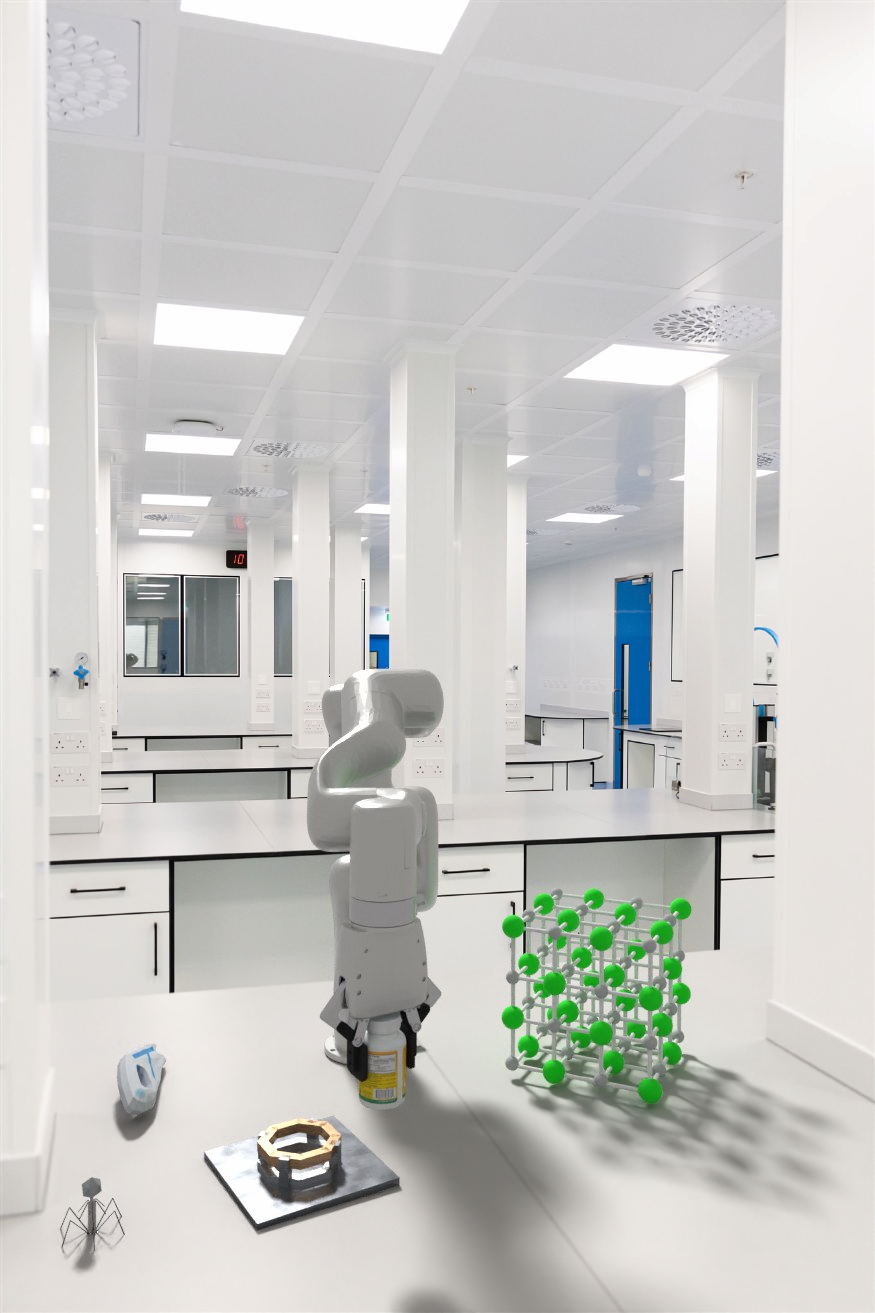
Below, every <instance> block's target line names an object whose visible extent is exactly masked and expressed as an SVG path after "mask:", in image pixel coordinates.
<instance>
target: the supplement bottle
mask: <svg viewBox="0 0 875 1313" xmlns="http://www.w3.org/2000/svg"><path fill="white" fill-rule="evenodd" d="M400 1026H401V1016H400V1014H399V1013H398V1012H395V1013H391V1014H387V1015H382V1016H378V1017H373V1018H370V1019H369V1022H368V1026H367V1029H366V1033H365V1037H364V1040H363V1043H364V1044H366V1045H367V1047H368V1078H367V1079H366V1081H363V1082H360V1081H359V1080H358V1100H359V1103H360V1104H361V1105H363V1106H364V1107H366V1108H367V1109H370V1110H374V1111H388V1110H392V1109H396V1108H397V1107H399V1106H401V1105H402V1104H403V1103H404V1101H405V1099H406V1094H407V1093H406V1092H407V1091H406V1087H407V1084H406V1083H407V1078H406V1077H407V1076H406V1075H407V1067H406V1037H405V1035H404V1033H403V1032H402V1031H400V1030H399V1029H400Z"/></svg>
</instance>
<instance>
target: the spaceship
mask: <svg viewBox="0 0 875 1313" xmlns="http://www.w3.org/2000/svg"><path fill="white" fill-rule="evenodd" d="M166 1062H167V1058H166V1056H165V1055H164V1054H162V1053H159V1052H158V1051H157V1044H156V1043H147V1044H144V1045H140V1046H137V1047H134V1048H132V1049H130V1050H129V1051H127V1052H126V1053H125V1054H124V1055H123V1056H122V1057H121V1058H120V1059H119V1062H118V1064H117V1069H116V1081H117V1082H116V1083H117V1089H118V1093H119V1097H120V1099H121V1100H120V1101H121V1103H122V1106H123V1109H124V1110H125V1112H126V1113H128V1114H129V1115H134V1116H137V1115H141V1114H143V1113H145V1112H147V1111H149V1110H151V1109H153V1108H154V1107H155V1103H156V1101H157V1092H158V1089H159V1087H160V1082H161V1077H162V1069H163V1067H164V1065H165V1063H166Z"/></svg>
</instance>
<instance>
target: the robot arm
mask: <svg viewBox="0 0 875 1313" xmlns="http://www.w3.org/2000/svg"><path fill="white" fill-rule="evenodd" d="M444 700H445V698H444V692H443V688H442V685H441V682H440V681H439V679H438V677H437V676H436V674H434V673H433V672H431V671H430V670H427V669H424V668H423V669H421V668H369V669H363V670H359V671H357V672H355V673H353V674H351V675H350V676H349V677H347V679H346V680H345V682H344V683H342V684H336V685H333V686H330V687H329V688H327V689H326V690H325V691H324V692H323V695H322V697H321V712H322V717H323V718H322V719H323V721H324V725H325V728H326V731H327V734H328V736H329V738H330V740H331V743H332V744H331V745H330V746H329V747H328V748H327V749H326V750H325V751H324V752H323V753H322V754H321V755H320V756H319V758H318V759H317V760H316V762H315V763H314V765H313V767H312V769H311V771H310V775H309V777H308V783H307V784H308V785H307V799H306V800H307V802H306V803H307V804H306V824H307V825H306V827H307V832H308V837H309V839H310V842H311V843H312V845H313V846H315V848H316V849H318V850H320V851H323V852H327V853H329V852H331V853H341V852H342V853H344V852H345V853H346V852H347V853H348V852H349V854H346V855H342V856H341V857H339V858H338V859H336V860H335V861H334V862H333V863H332V865H331V867H330V870H329V875H328V884H329V886H328V888H329V893H330V900H331V901H330V902H331V908H332V917H333V937H334V938H333V941H334V942H333V943H334V945H333V946H334V948H333V949H334V951H333V952H334V953H333V955H334V956H333V957H334V958H333V960H334V961H333V962H334V963H333V966H334V967H333V968H334V970H333V972H334V973H333V994H332V996H331V997H330V998H329V1000H328V1002H327V1003H326V1004H325V1006H324V1008H323V1009H322V1010H321V1012H320V1014H319V1019H320V1020H321V1021H323V1022H324V1023H325V1024H327V1026H329V1027H330V1028H332V1029H333V1034H332V1035H330V1036H329V1037H327V1039H325V1041H324V1044H323V1047H324V1049H323V1050H324V1054H325V1056H327V1057H328V1058H329V1059H330V1060H332V1061H334V1062H337V1063H340V1064H343V1065H346V1067H347V1071H349V1073H350V1074H351V1075H352V1076H353V1077H354V1078H356V1079H357V1080H358V1082H359V1081H360V1082H363V1081H366V1079H367V1078H368V1047H367V1045H366V1044H364V1043H363V1040H364V1037H365V1033H366V1029H367V1026H368V1022H369V1019H370V1018H373V1017H378V1016H382V1015H387V1014H391V1013H395V1012H398V1013H399V1014H400V1016H401V1026H400V1029H399V1030H400V1031H402V1032H403V1033H404V1035H405V1037H406V1069H409V1070H411V1069H415V1068H416V1057H417V1054H418V1048H417V1047H418V1032H420V1031H421V1030H422V1026H423V1025H422V1024H423V1022H424V1020H425V1019H426V1017H427V1016H428V1015H429V1013H430V1012H431V1008H433V1007H434V1005H435V1004H436V1003H437V1002H438V1000H439V999H440V998H441V996H442V991H441V989H439V987H438V986H437V985H436V984H435V983H434V981H432V979H431V978H430V977H429V975H428V973H429V972H428V958H427V948H426V942H425V936H424V929H423V926H422V921H421V919H420V918H419V917H418V913H424V912H427V911H430V910H431V909H432V908H434V906H435V905H436V902H437V899H438V894H439V813H438V804H437V801H436V797H435V796H434V793H433V792H432V791H431V790H430V789H428V788H426V787H424V786H419V785H393V782H392V778H393V777H392V774H393V773H392V770H393V769H394V768H395V767H397V766H398V764H399V763H400V762H401V761H402V759H403V758H404V756H405V754H406V750H407V739H421V738H422V739H423V738H427V737H429V736H430V735H431V734H432V733H433V732H434V731H435V730H436V729H437V728H438V727H439V725H440V723H441V721H442V718H443V713H444V707H445V704H444V702H445V701H444Z"/></svg>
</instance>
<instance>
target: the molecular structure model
mask: <svg viewBox="0 0 875 1313" xmlns="http://www.w3.org/2000/svg"><path fill="white" fill-rule="evenodd" d="M562 898H568V899H578V900H583V902H584V903H581V902H580V903H578V904H577V905H576V906H575V907H571V906H563V905H560V900H561V899H562ZM604 903H609V904H611V903H612V904H619V905H617V907H616V908H615V910H614V911H613V912H612V911H605V910H604V911H603V910H598V909H599V908H601V907H603V905H604ZM642 907H644V908H645V907H646V908H653V909H661V910H662V909H663V910H669V912H670V913H667V914H665V915H663V917H662V918H661V917H652V916H644V915H640V914H639V912H640V911H639V910H640V909H642ZM533 908H534V909H533V910H532V909H529V908H528V909H527V908H526V909H525V910H524V911H523V912H522V915H521V917H520V916H519V915H516V914H510V915H508V916H506V917H505V918H504V919H503V921H502V923H501V924H502V925H501V928H502V931H503V934H505V936H507V937H508V938H509V939H510V970H509V971H507V973H506V976H505V980H506V982H507V983H508V984H510V1005H509V1006H507V1007H505V1008H504V1009H503V1011H502V1012H501V1013H502V1014H501V1022H502V1024H503V1025H504V1027H506V1028H507V1029H509V1030H510V1056H508V1057H507V1058H506V1059H505V1062H504V1064H505V1067H506V1069H507V1070H508V1071H511V1072H512V1071H516V1070H517V1069H521V1070H526V1071H531V1072H536V1073H540V1074H542V1076H543V1078H544V1080H545V1081H546V1082H548V1083H549V1084H551V1085H557V1084H560V1083H562V1082H563V1081H564V1079H571V1080H575V1081H581V1082H586V1083H590V1084H594V1085H595V1087H597V1088H599V1089H604V1088H606V1087H612V1088H617V1089H619V1090H620V1089H621V1090H627V1091H630V1092H631V1091H632V1092H636V1093H638V1095H639V1098H640V1099H641V1100H642V1101H643V1102H644V1103H646V1104H651V1105H652V1104H656V1103H658V1102H659V1101H660V1100H661V1099H662V1096H663V1091H664V1090H663V1088H662V1085H661V1083H660V1082H659V1081H658V1079H660V1078H661V1079H662V1078H664V1077H665V1076H666V1075H667V1068H666V1067H667V1066H666V1064H667V1065H670V1066H672V1065H673V1066H675V1065H677V1064H678V1063H679V1062H680V1061H681V1059H682V1057H683V1051H682V1048H681V1046H680V1045H679V1044H681V1043H683V1042H684V1040H685V1034H684V1032H683V1031H682V1005H685V1004H687V1003H688V1002H689V1001H690V999H691V996H692V992H691V989H690V987H689V986H688V985H687V984H685V983H684V982H682V974H683V973H682V972H683V966H682V964H683V963H682V962H684V960H685V958H686V954H685V952H684V950H683V948H682V947H683V946H682V943H683V941H682V940H683V938H682V936H683V935H682V934H683V923H682V922H683V920H687V919H688V918H689V917H690V916H691V914H692V911H693V910H692V906H691V903H690V902H689V901H688V900H687V899H685V898H683V897H682V898H681V897H678V898H675V899H673V901H672V902H671V903H670V905H665V904H656V903H647V902H646V903H645V902H643V899H642V898H640V897H639V896H634V897H632V898H631V899H630V900H624V899H623V900H621V899H614V898H605V896H604V894H603V892H602V891H601V890H600V889H599V888H589V889H588V890H586V891H585V893H584V895H578V894H569V893H563V890H562V889H561V888H560V887H554V888H552V889H551V892H550V894H548V893H546V892H545V893H542V892H541V893H539V894H537V895H536V897H534V900H533ZM553 910H555V917H553V916H547V915H548V914H550V913H552V911H553ZM537 913H538V914H540V915H538V914H537ZM536 914H537V915H536ZM587 914H591V922H590V921H585V917H586V916H587ZM597 915H600V916H609V917H614V919H610V920H609V921H608V922H607V923H599V922H596V916H597ZM534 920H541V928H536V927H531V926H532V924H531V923H533V921H534ZM546 921H547V922H548V921H549V922H555V925H551V926H550V927H549V928H548V929H546ZM640 921H649V922H650V921H651V922H654V923H652V924H651V926H650V929H646V928H639V926H640V925H639V924H640V923H639V922H640ZM525 923H526V926H525ZM632 924H634V927H630V925H632ZM676 924H677V949H674V927H675V925H676ZM585 926H586V927H591V932H590V934H585ZM578 927H579V933H573V932H574V931H576V930H577V929H578ZM620 931H623V939H618V938H617V934H618V933H620ZM524 932H526V952H525V953H523V954H522V955H521V956H520V957H519V959H518V963H517V966H518V969H519V970H518V971H516V939H517V938H519V937H521V936H522V935H523V933H524ZM629 932H632V933H633V932H634V938H632V939H630V940H629V937H628V936H629ZM532 933H537V934H538V933H539V934H541V943H540V944H539V945H538V946H537V949H536V953H537V954H534V953H532V952H531V948H532V947H531V942H532V941H531V938H532V937H531V935H532ZM639 933H640V934H649V935H650V936H651V937H647V938H645V939H644V940H641V939H639ZM546 934H547V938H546ZM572 938H573V939H572ZM574 938H576V939H574ZM577 939H579V940H577ZM546 940H547V943H548V945H547V944H546ZM585 940H587V941H585ZM572 944H576V945H579V946H578V947H576V948H574V950H572ZM617 944H619V945H623V946H619V945H617ZM657 944H658V946H657ZM666 944H668V952H664V945H666ZM585 946H587V947H585ZM565 947H566V951H561V950H562V949H563V948H565ZM657 947H658V951H656V949H657ZM610 949H611V958H609V957H605V951H608V950H610ZM596 950H597V951H598V952H599V955H598V956H596ZM617 951H623V955H622V956H621V957H620V958H619V959H617ZM549 954H551V958H552V959H551V960H552V961H551V962H552V964H551V965H546V957H547V956H549ZM646 954H647V963H643V962H639V961H641V960H642V959H643V958H645V956H646ZM653 955H654V956H658V964H654V961H653V960H654V956H653ZM560 956H564V957H566V963H565V964H563V965H562V967H560ZM664 957H665V958H664ZM540 959H541V963H540ZM633 960H634V961H633ZM571 961H572V962H571ZM596 961H599V968H598V970H599V971H598V970H596ZM605 962H607V963H611V964H608V965H607V966H605V965H604V964H605ZM590 966H591V969H590V970H588V971H585V970H584V969H587V968H588V967H590ZM632 966H633V967H634V974H633V975H634V978H629V977H628V976H629V975H628V974H629V973H628V972H629V971H628V969H630V968H631V967H632ZM575 967H576V968H578V969H579V970H576V969H575ZM639 967H640V968H645V969H646V968H647V980H644V979H639ZM539 970H540V971H541V973H540V976H539V977H537V978H534V977H531V976H533V975H535V974H536V973H538V971H539ZM546 970H547V971H550V972H548V973H546ZM654 970H658V975H656V976H655V977H654V978H653V975H654V972H653V971H654ZM522 974H523V975H526V976H521V975H522ZM574 975H578V976H574ZM571 980H572V981H578V982H579V985H577V984H573V983H572V982H571ZM667 980H668V982H667ZM675 980H676V982H674V983H673V981H675ZM519 981H522V982H526V984H525V985H526V989H525V990H526V991H525V992H526V993H525V994H526V995H525V996H524V997H523V998H522V1001H521V1004H522V1007H521V1008H520V1007H519V1006H516V984H517V983H518V982H519ZM531 983H532V984H533V985H532V989H533V992H534V995H533V996H532V995H531ZM629 983H630V984H629ZM667 984H668V989H667V990H665V989H666V987H667ZM643 985H645V986H643ZM609 987H610V988H611V990H610V989H609ZM617 988H621V989H619V990H618V991H617ZM571 989H572V990H578V991H576V992H572V991H571ZM590 992H591V995H590V994H589V993H590ZM560 995H563V996H566V999H565V1000H562V1001H560ZM608 995H611V998H610V997H608ZM664 995H667V996H668V998H667V999H668V1000H667V1001H668V1002H666V1003H664ZM549 997H551V998H552V999H551V1000H552V1002H551V1004H546V999H548V998H549ZM572 997H574V998H575V1001H574V1000H572V999H571V998H572ZM538 998H540V999H541V1000H540V1002H536V1000H537V999H538ZM588 999H589V1000H590V1001H591V1004H590V1005H591V1007H590V1008H591V1010H590V1011H588V1010H584V1009H585V1008H584V1004H585V1003H586V1002H587V1001H588ZM596 1001H598V1004H599V1005H598V1008H599V1009H598V1010H599V1012H596ZM604 1002H607V1003H611V1010H609V1011H608V1012H607V1014H606V1013H604V1010H605V1009H604V1007H605V1006H604ZM578 1005H579V1006H578ZM535 1007H537V1008H540V1009H541V1010H540V1014H541V1015H540V1020H536V1019H535V1020H534V1019H531V1010H532V1009H533V1008H535ZM639 1008H643V1010H644V1011H645V1010H646V1011H647V1020H642V1019H640V1018H639ZM546 1009H547V1011H546ZM632 1010H633V1017H632V1018H631V1017H628V1012H631V1011H632ZM525 1011H526V1013H525V1014H526V1015H524V1012H525ZM655 1011H658V1012H656V1013H654V1014H653V1012H655ZM621 1012H623V1013H622V1014H623V1015H622V1016H621ZM675 1015H676V1023H677V1024H676V1029H675V1030H673V1026H674V1023H673V1016H675ZM525 1016H526V1018H525ZM584 1016H588V1017H587V1018H586V1019H584ZM546 1017H547V1020H548V1021H546ZM604 1019H607V1021H605V1020H604ZM574 1022H575V1023H578V1024H579V1025H577V1026H576V1027H574V1026H571V1023H574ZM619 1022H623V1023H622V1025H618V1024H619ZM564 1023H566V1025H563V1024H564ZM523 1024H525V1027H526V1028H525V1030H526V1032H525V1034H524V1035H522V1036H520V1038H519V1040H518V1042H517V1050H518V1053H520V1054H519V1055H518V1056H517V1057H516V1030H517V1029H520V1027H522V1026H523ZM584 1024H586V1025H587V1026H585V1025H584ZM531 1025H536V1029H535V1031H536V1034H537V1036H536V1037H535V1036H534V1035H532V1034H531ZM561 1030H563V1031H566V1033H562V1032H560V1031H561ZM617 1030H620V1031H622V1035H619V1034H617V1032H616V1031H617ZM548 1035H549V1036H551V1049H548V1048H543V1047H540V1043H539V1041H540V1039H541V1038H542V1037H546V1036H548ZM557 1037H559V1038H565V1039H566V1040H565V1043H566V1044H565V1045H566V1046H563V1047H562V1049H561V1051H559V1050H557ZM656 1037H658V1038H656ZM664 1038H665V1039H667V1041H665V1042H664ZM617 1040H618V1042H616V1041H617ZM571 1042H572V1046H571ZM663 1042H664V1043H663ZM591 1043H592V1044H595V1045H597V1046H598V1058H595V1057H589V1056H585V1055H580V1054H575V1051H576V1049H577V1048H579V1049H585V1048H588V1047H589V1046H590V1045H591ZM632 1043H635V1044H642V1045H643V1047H641V1046H636V1045H635V1046H634V1045H632ZM604 1046H609V1047H611V1049H610V1050H607V1051H606V1052H605V1053H604ZM657 1047H658V1049H656V1048H657ZM617 1048H619V1051H617V1050H616V1049H617ZM630 1050H632V1051H636V1052H642V1053H647V1067H643V1066H638V1065H635V1064H634V1065H633V1064H627V1063H625V1059H624V1057H623V1054H624V1053H626V1052H629V1051H630ZM538 1053H544V1054H550V1055H551V1059H549V1060H546V1061H545V1063H544V1064H543V1066H542V1068H539V1067H534V1066H531V1065H525V1064H520V1061H521V1060H522V1059H523V1058H526V1059H531V1058H532V1059H533V1058H534V1057H536V1055H538ZM653 1055H658V1056H657V1057H658V1059H657V1061H658V1062H656V1063H655V1064H653ZM557 1056H558V1057H559V1056H560V1057H562V1058H561V1060H558V1059H557ZM572 1059H576V1060H579V1061H580V1060H581V1061H585V1062H591V1063H597V1064H598V1073H597V1074H595V1075H594V1077H593V1078H591V1077H586V1076H582V1075H576V1074H571V1073H566V1068H565V1066H564V1064H565V1063H566V1061H571V1060H572ZM623 1069H629V1070H634V1071H639V1072H644V1073H647V1074H646V1075H647V1077H645V1078H643V1079H642V1080H641V1081H640V1082H639V1084H638V1087H637V1086H632V1085H627V1084H621V1083H617V1082H613V1081H609V1080H608V1077H609V1074H611V1075H618V1074H619V1073H621V1072H622V1071H623ZM604 1071H605V1072H604Z"/></svg>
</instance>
